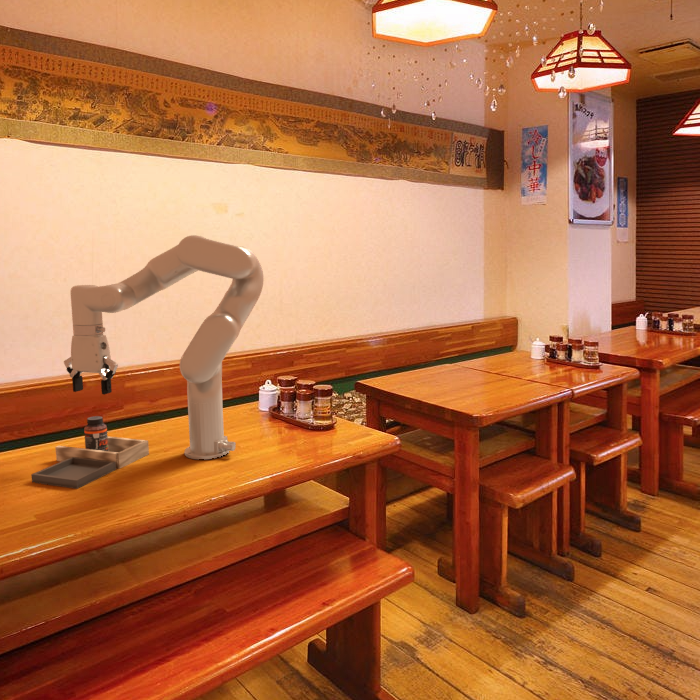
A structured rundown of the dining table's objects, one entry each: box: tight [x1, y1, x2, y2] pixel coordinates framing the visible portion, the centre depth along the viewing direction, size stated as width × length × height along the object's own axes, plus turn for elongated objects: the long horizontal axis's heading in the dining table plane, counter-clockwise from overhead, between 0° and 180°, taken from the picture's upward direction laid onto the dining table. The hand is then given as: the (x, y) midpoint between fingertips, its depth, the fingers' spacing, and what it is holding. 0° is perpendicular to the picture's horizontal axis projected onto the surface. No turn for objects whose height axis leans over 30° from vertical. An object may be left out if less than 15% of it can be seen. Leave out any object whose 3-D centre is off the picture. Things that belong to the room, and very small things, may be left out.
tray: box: [31, 457, 117, 489], centre depth 158 cm, size 14×14×2 cm
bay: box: [55, 435, 150, 469], centre depth 172 cm, size 21×12×4 cm, turn 71°
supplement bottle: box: [83, 415, 108, 451], centre depth 172 cm, size 6×6×11 cm
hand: (92, 392), depth 170 cm, fingers open, 9 cm apart
